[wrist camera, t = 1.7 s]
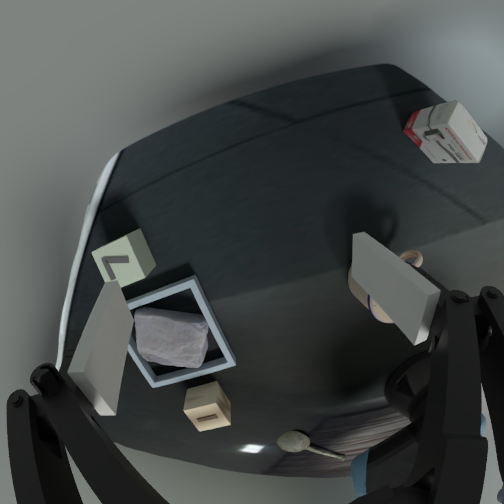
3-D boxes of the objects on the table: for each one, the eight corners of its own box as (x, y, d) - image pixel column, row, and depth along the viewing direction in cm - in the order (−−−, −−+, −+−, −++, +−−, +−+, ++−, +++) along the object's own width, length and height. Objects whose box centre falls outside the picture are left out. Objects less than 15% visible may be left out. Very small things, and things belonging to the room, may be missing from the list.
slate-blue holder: (235, 358, 46) (236, 365, 44) (154, 381, 46) (152, 387, 44) (195, 274, 42) (193, 279, 40) (110, 307, 42) (105, 312, 40)
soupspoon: (291, 422, 52) (270, 437, 54) (292, 434, 49) (271, 448, 50) (352, 449, 56) (332, 461, 57) (355, 458, 53) (335, 471, 54)
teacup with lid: (363, 310, 45) (395, 344, 34) (335, 273, 43) (366, 302, 32) (412, 264, 44) (454, 286, 33) (389, 224, 42) (432, 238, 31)
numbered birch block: (230, 402, 48) (230, 425, 42) (201, 409, 49) (199, 432, 43) (217, 380, 47) (215, 403, 41) (187, 388, 47) (183, 411, 41)
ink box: (401, 131, 39) (446, 121, 27) (412, 111, 38) (456, 97, 26) (433, 164, 40) (480, 164, 29) (443, 144, 39) (489, 141, 28)
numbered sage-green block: (156, 264, 41) (145, 278, 35) (124, 278, 42) (109, 292, 36) (140, 228, 40) (125, 235, 34) (108, 243, 40) (90, 252, 34)
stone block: (208, 354, 48) (210, 310, 44) (205, 374, 43) (207, 329, 39) (143, 344, 47) (138, 299, 43) (136, 363, 43) (128, 317, 38)
